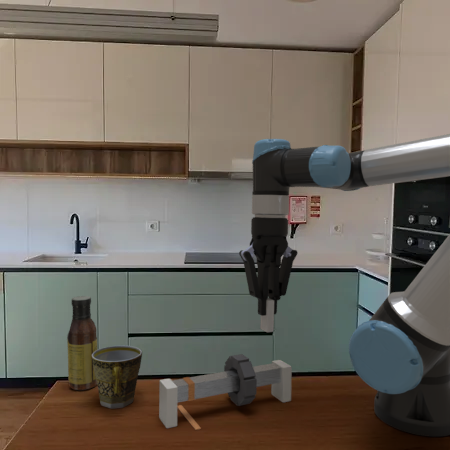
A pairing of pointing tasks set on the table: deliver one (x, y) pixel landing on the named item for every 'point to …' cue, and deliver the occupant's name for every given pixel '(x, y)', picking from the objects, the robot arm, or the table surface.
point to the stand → (170, 413)
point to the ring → (242, 379)
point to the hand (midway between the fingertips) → (266, 330)
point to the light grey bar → (223, 382)
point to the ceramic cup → (116, 374)
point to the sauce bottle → (81, 345)
